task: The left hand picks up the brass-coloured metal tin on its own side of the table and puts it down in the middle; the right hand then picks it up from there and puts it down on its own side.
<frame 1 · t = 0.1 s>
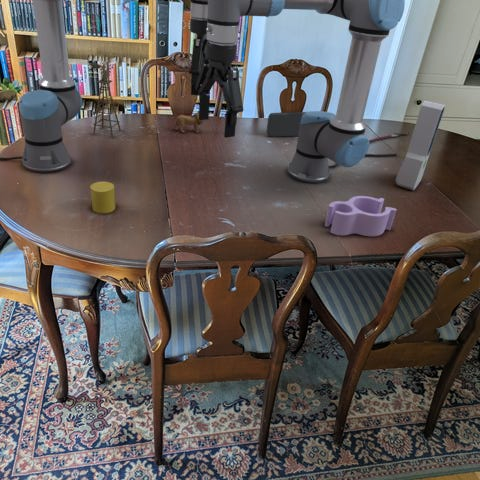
left hand: (199, 89, 153), 28 cm above the table, tool pointing down, fingers open, 13 cm apart
right hand: (216, 127, 124), 28 cm above the table, tool pointing down, fingers open, 13 cm apart
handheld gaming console: (290, 135, 206), on the table
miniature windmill: (107, 132, 189), on the table
lion figurine: (189, 131, 199), on the table
tin: (103, 207, 138), on the table
clip: (356, 226, 143), on the table
electronic device: (407, 183, 174), on the table
sword: (387, 139, 213), on the table
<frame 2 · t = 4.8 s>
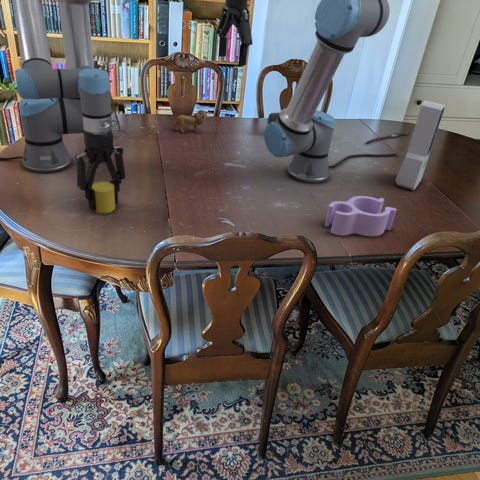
left hand: (103, 205, 138), 1 cm above the table, tool pointing down, fingers closed on tin, 7 cm apart
right hand: (231, 60, 168), 34 cm above the table, tool pointing down, fingers open, 13 cm apart
tin: (103, 207, 139), on the table, touching left hand
everything else where it was.
when the left hand's fingers open (2 cm above the table, at t = 9.8 s): tin drops 1 cm, on the table.
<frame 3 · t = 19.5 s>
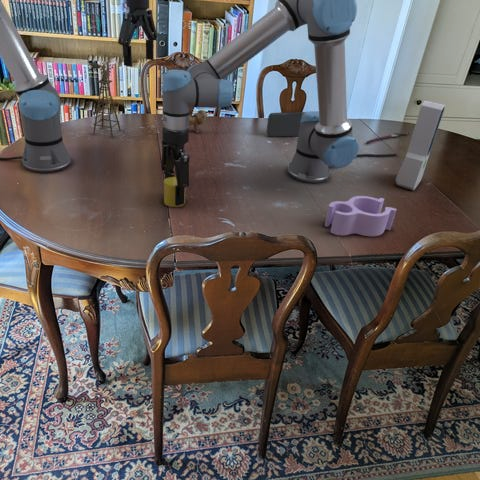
left hand: (139, 62, 164), 31 cm above the table, tool pointing down, fingers open, 13 cm apart
right hand: (174, 199, 145), 1 cm above the table, tool pointing down, fingers closed on tin, 7 cm apart
tin: (174, 201, 146), on the table, touching right hand
everything else where it was.
when the right hand's fingers open (2 cm above the table, at t = 28.8 s): tin drops 1 cm, on the table.
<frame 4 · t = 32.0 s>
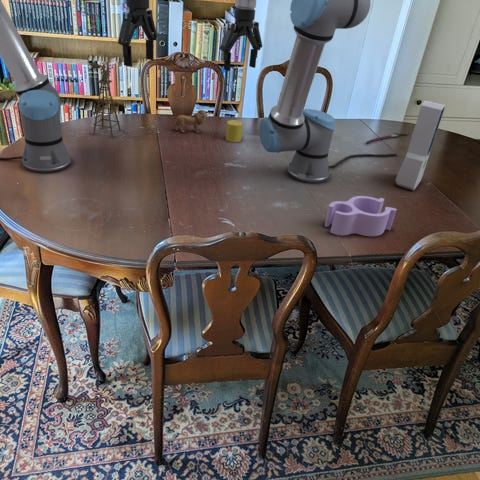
left hand: (139, 62, 164), 31 cm above the table, tool pointing down, fingers open, 13 cm apart
right hand: (239, 68, 180), 29 cm above the table, tool pointing down, fingers open, 13 cm apart
tin: (233, 139, 196), on the table
everything else where it was.
at the end: tin inside the target area (0.0 cm from its centre), on the table; tin tilted 0°; the two hands never held the tin at the same time; the left hand is holding nothing; the right hand is holding nothing; tin at rest at the end (0.0 cm/s) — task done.
